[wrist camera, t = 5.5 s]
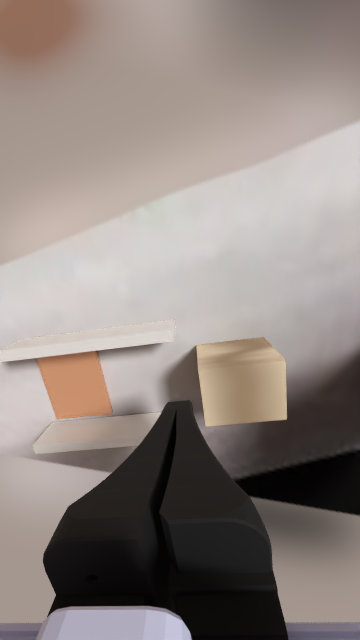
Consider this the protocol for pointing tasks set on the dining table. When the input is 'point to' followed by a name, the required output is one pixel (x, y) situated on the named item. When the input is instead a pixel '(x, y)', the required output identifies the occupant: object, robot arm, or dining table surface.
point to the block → (242, 382)
